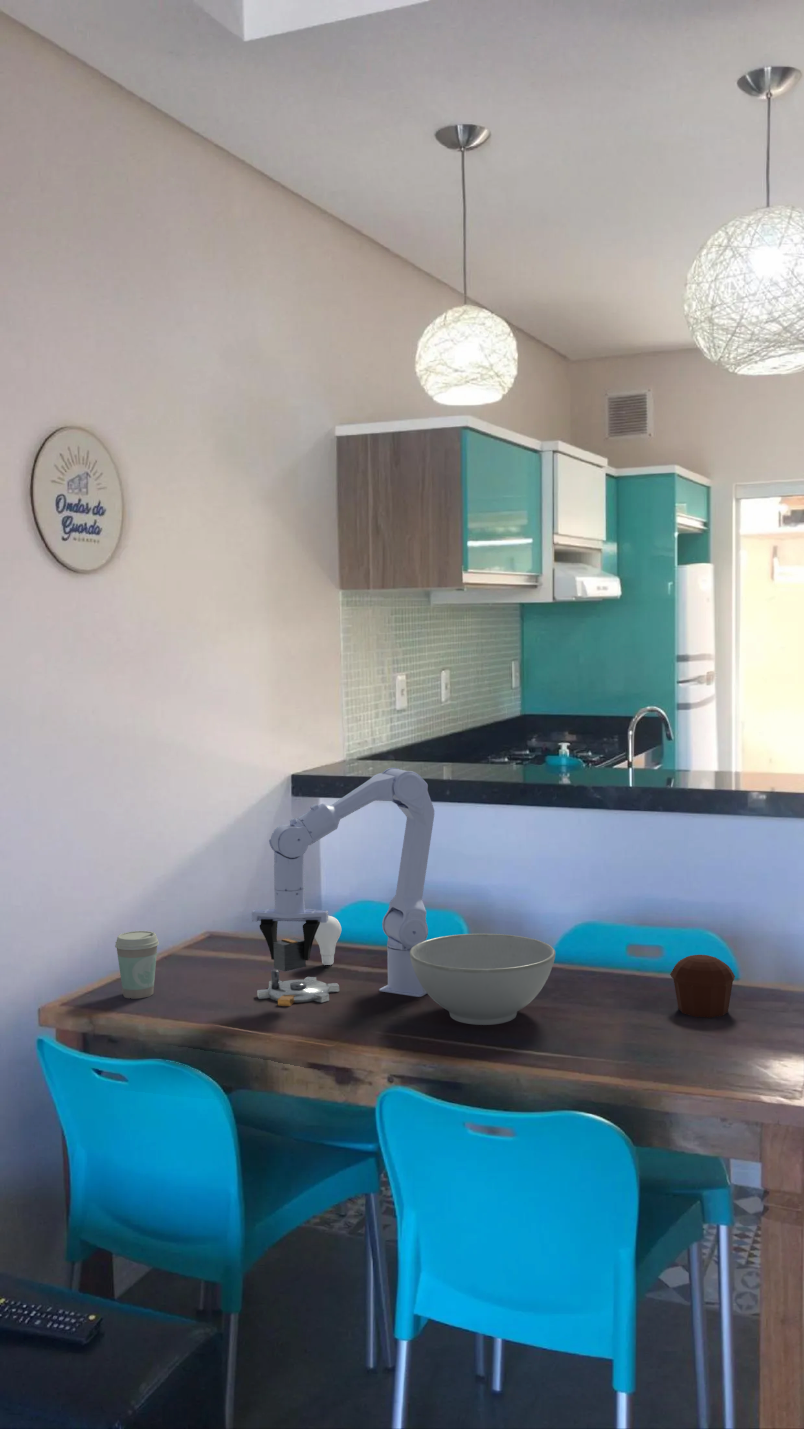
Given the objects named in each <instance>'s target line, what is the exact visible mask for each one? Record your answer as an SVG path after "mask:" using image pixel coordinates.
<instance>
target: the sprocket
mask: <svg viewBox="0 0 804 1429" xmlns="http://www.w3.org/2000/svg"><path fill="white" fill-rule="evenodd" d="M270 976H271V977H270V980H269V981H268V988H267V989H257V990H256V992H257V993H256V994H257V998H258V1000H262V999H263V1000H264V999H271V1000H272V1001H275V1002H277V1006H279V1007H280V1006H282V1007H290V1006H292V1005H293V1004H294V1003H295V1004H298V1003H309V1002H310V1003H311V1002H317V1003H321V1004H322V1003H326V1002H329V1001H330V993H338V992H340V985H339V984H338V983H337V982H332V983H326V982H323V981H321V980H317V976H307V977H305V978H304V979H290V980H283V981H282V980H280V970H278V969H271V970H270Z"/></svg>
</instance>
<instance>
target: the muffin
mask: <svg viewBox="0 0 804 1429" xmlns="http://www.w3.org/2000/svg"><path fill="white" fill-rule="evenodd" d="M669 975H670V976H671V979H673V983H674V984H673V985H674V991H675V996H676V1002H677V1003H676V1004H677V1008H678V1010H679V1011H680V1012H681V1013H682V1014H684V1015H687V1016H688V1015H689V1016H691V1017H695V1018H696V1017H697V1018H698V1017H699V1016H700V1017H699V1018H710V1019H712V1018H716V1017H715V1016H717V1017H723V1016H724V1015H726V1014H728V1013H729V1010H730V1003H731V995H732V989H733V983H734V980H735V979H736V975H735V974H734V972H733V970H732V968H731V967H730V966H729V965H728V964H727V963H726V962H724V961H722V960H721V959H720V958H718V957H715V956H712V955H708V954H693V955H689V956H686V957H684V958H682V959H680V960H678V961H677V963H676V964H674V967H673V969H672V970H671V972H670V974H669Z"/></svg>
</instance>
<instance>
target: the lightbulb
mask: <svg viewBox="0 0 804 1429" xmlns="http://www.w3.org/2000/svg"><path fill="white" fill-rule="evenodd" d="M341 933H342V926H341V923H340V922H339V920H338V919H337V918H336V917H335V916H332V915H328V921H327V922H326V923H321V922H320V925H319V927H318V929H317V932H316V934H315V937H314V939H315V940H316V943H317V944H318V947H319V951H320V952H319V954H320V955H321V964H322V965H324V966H325V965H330V966H331V965H333V964H334V961H335V959H334V958H335V953H336V946H337V942H339V941H338V940H339V938H340V936H341Z"/></svg>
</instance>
